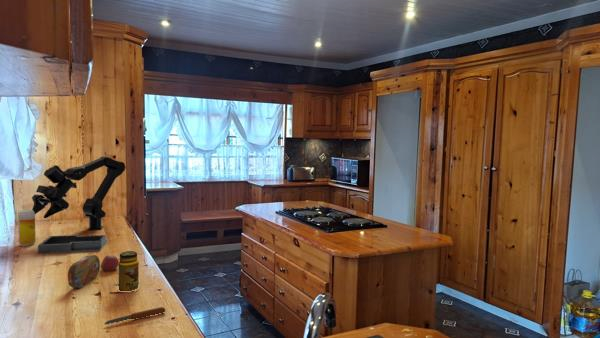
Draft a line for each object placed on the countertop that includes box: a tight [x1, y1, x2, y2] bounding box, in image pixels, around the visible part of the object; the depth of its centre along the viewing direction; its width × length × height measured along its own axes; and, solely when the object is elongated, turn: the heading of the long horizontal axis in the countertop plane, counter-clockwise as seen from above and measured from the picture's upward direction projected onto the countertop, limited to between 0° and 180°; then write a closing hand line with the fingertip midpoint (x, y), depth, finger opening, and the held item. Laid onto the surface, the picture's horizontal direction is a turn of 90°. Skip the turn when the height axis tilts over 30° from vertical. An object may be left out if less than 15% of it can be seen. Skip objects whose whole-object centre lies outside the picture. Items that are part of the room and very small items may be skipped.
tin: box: [67, 254, 101, 289], centre depth 130 cm, size 15×3×8 cm, turn 179°
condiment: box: [114, 250, 142, 291], centre depth 126 cm, size 7×8×12 cm
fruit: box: [100, 254, 120, 273], centre depth 143 cm, size 6×6×8 cm
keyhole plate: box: [37, 234, 108, 255], centre depth 168 cm, size 15×23×4 cm, turn 107°
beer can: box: [17, 209, 37, 247], centre depth 169 cm, size 6×6×15 cm
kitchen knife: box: [104, 306, 166, 325], centre depth 106 cm, size 16×1×2 cm, turn 124°
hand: (37, 216), depth 173 cm, fingers open, 9 cm apart
